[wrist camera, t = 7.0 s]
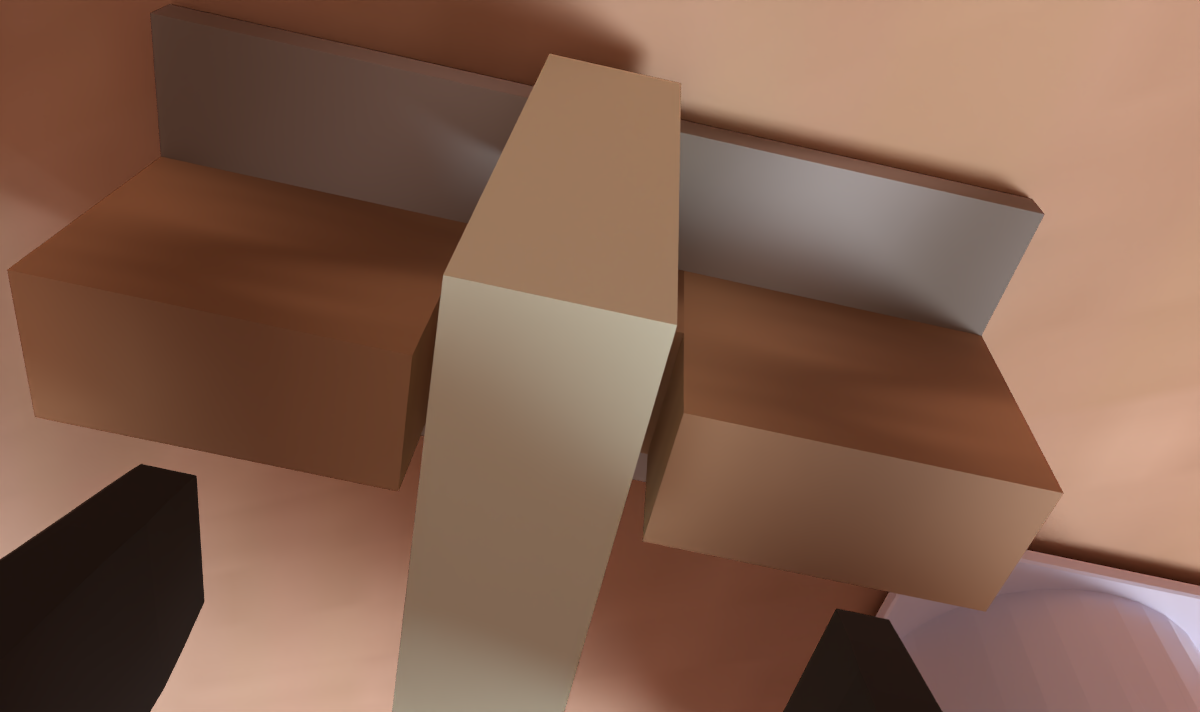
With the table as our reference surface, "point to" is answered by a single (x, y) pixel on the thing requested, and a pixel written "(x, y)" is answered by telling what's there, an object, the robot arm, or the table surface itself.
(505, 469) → the cream h-shaped block
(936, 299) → the slotted base
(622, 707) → the table surface
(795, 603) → the table surface
